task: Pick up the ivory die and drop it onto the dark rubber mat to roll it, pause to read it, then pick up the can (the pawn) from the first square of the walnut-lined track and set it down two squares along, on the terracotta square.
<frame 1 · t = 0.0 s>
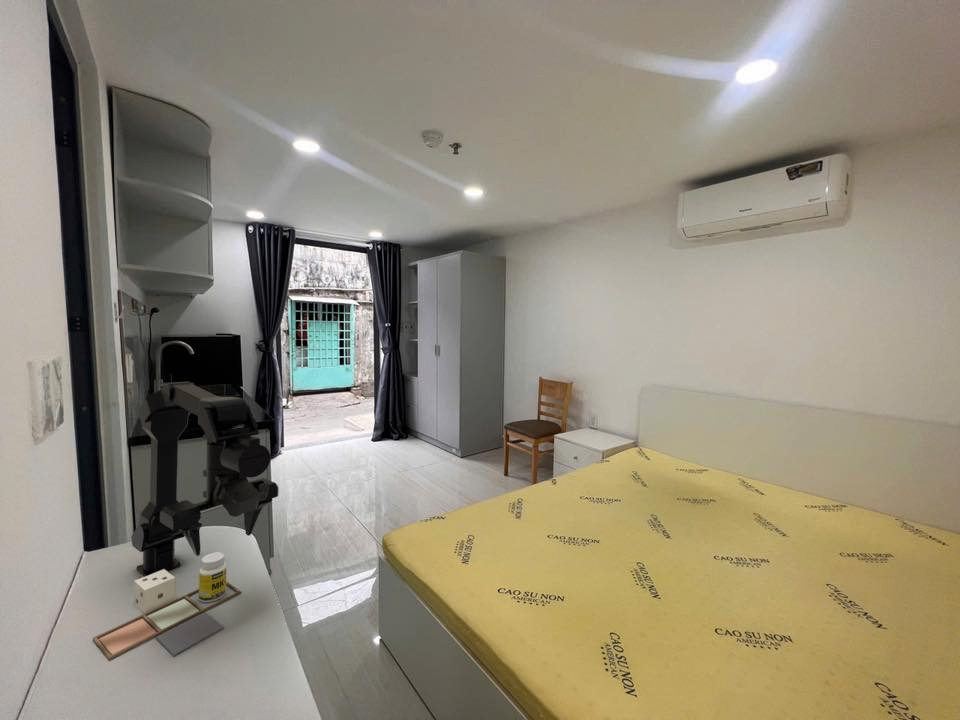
hand: (224, 544, 77), 15 cm above the table, fingers open, 9 cm apart
die: (154, 602, 81), on the table
track: (173, 614, 78), on the table
mat: (190, 633, 74), on the table
supplement bottle: (212, 596, 84), resting in track
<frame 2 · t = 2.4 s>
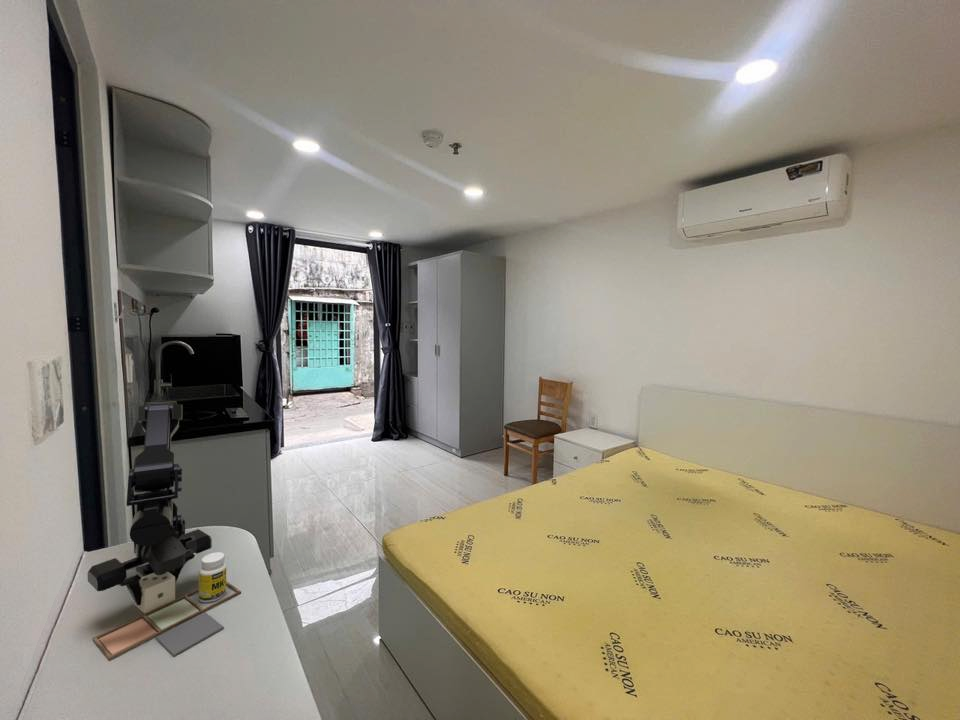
hand: (154, 597, 81), 1 cm above the table, fingers closed on die, 5 cm apart
die: (154, 602, 81), on the table, touching gripper
everything else where it was.
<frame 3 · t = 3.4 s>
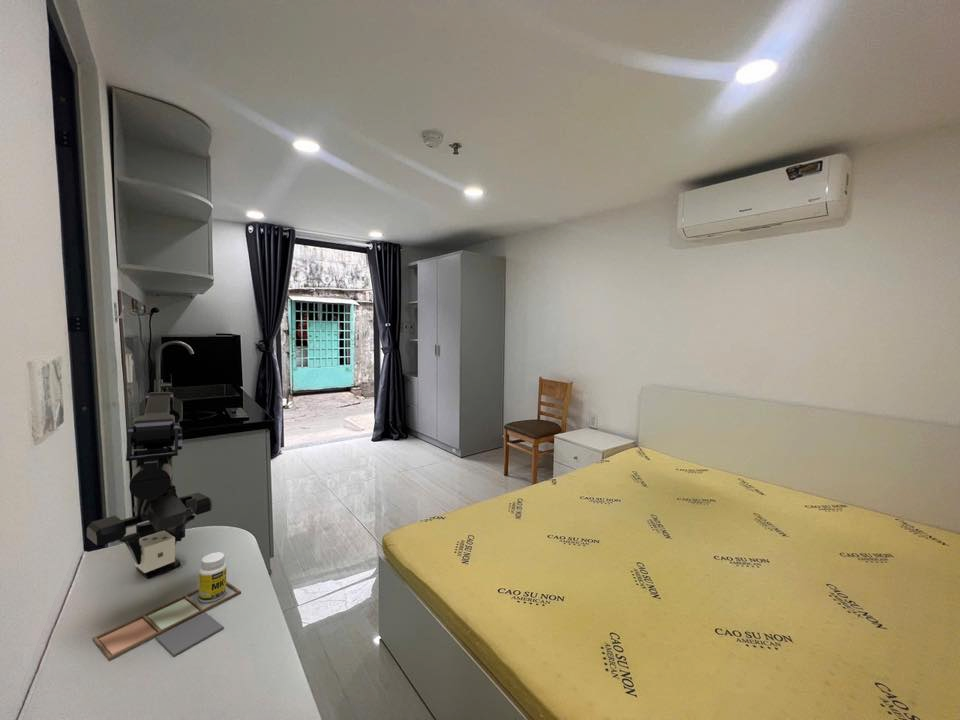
hand: (154, 557, 81), 9 cm above the table, fingers closed on die, 5 cm apart
die: (154, 562, 81), point 8 cm above the table, touching gripper
everything else where it was.
when the fingers open (8 cm above the table, at t = 4.6 s): die drops 7 cm, resting on mat.
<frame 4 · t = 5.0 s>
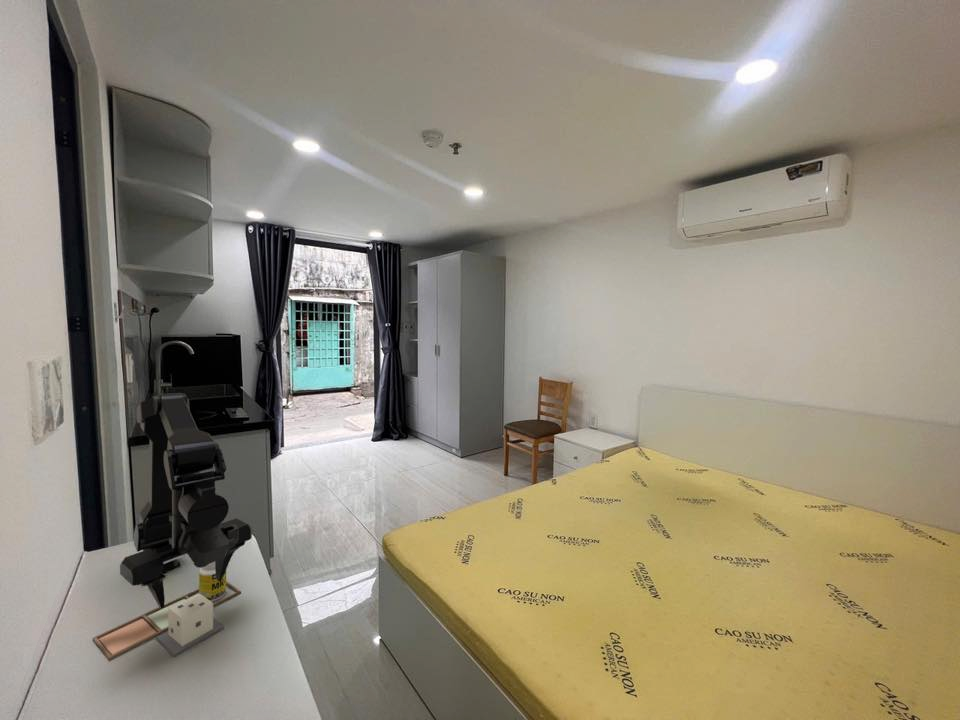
hand: (191, 593, 73), 8 cm above the table, fingers open, 9 cm apart
die: (191, 631, 74), resting on mat
everything else where it was.
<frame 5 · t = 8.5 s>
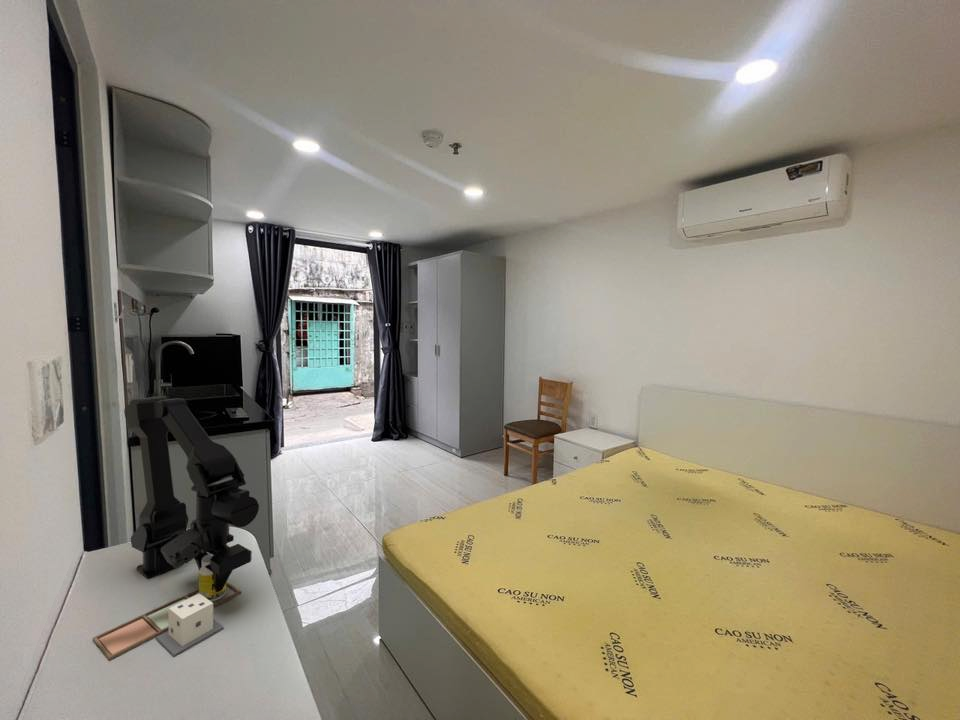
hand: (212, 586, 84), 2 cm above the table, fingers closed on supplement bottle, 5 cm apart
supplement bottle: (212, 596, 84), resting in track, touching gripper
everything else where it was.
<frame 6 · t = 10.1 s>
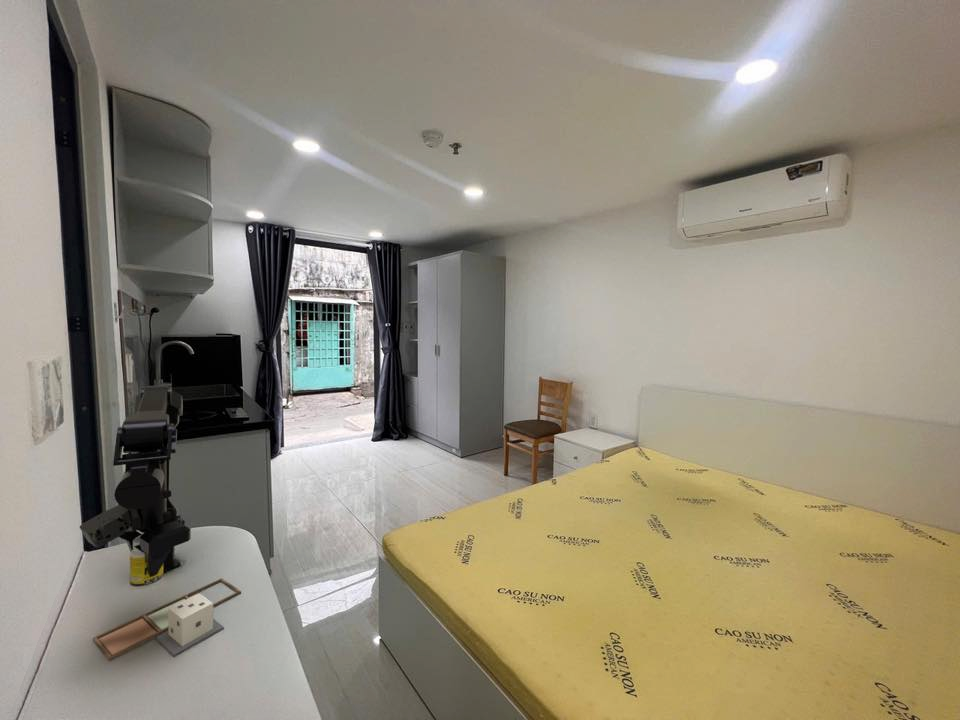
hand: (146, 571, 74), 11 cm above the table, fingers closed on supplement bottle, 5 cm apart
supplement bottle: (147, 582, 74), point 9 cm above the table, touching gripper
everything else where it was.
when the fingers open (3 cm above the table, at t = 12.0 s): supplement bottle drops 1 cm, resting on track.
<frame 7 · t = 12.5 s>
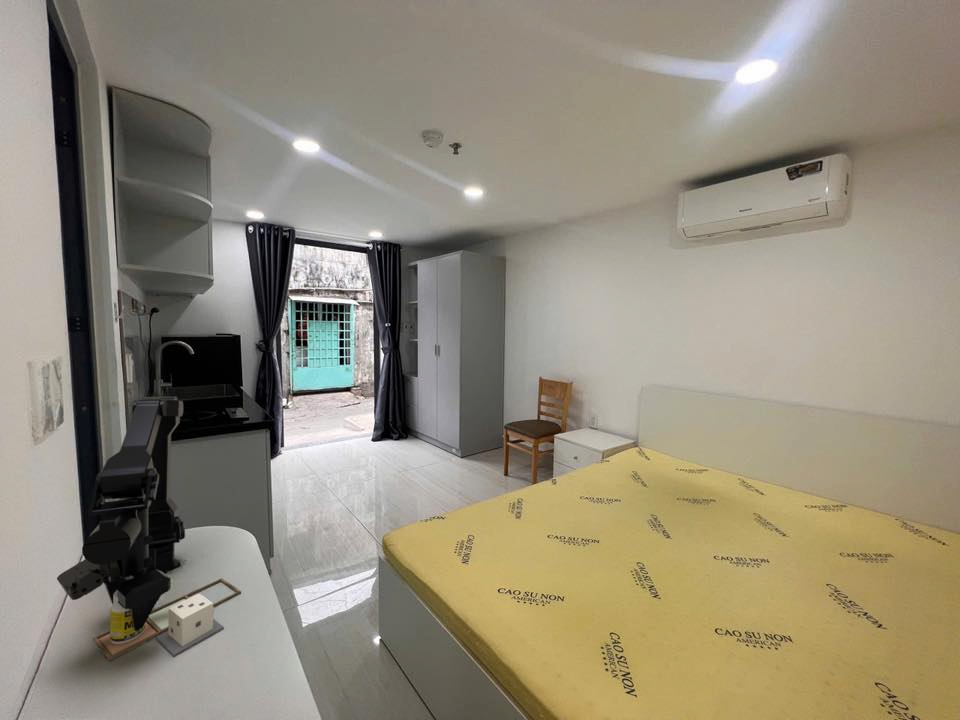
hand: (127, 618, 72), 3 cm above the table, fingers open, 9 cm apart
supplement bottle: (128, 636, 72), resting on track
everything else where it was.
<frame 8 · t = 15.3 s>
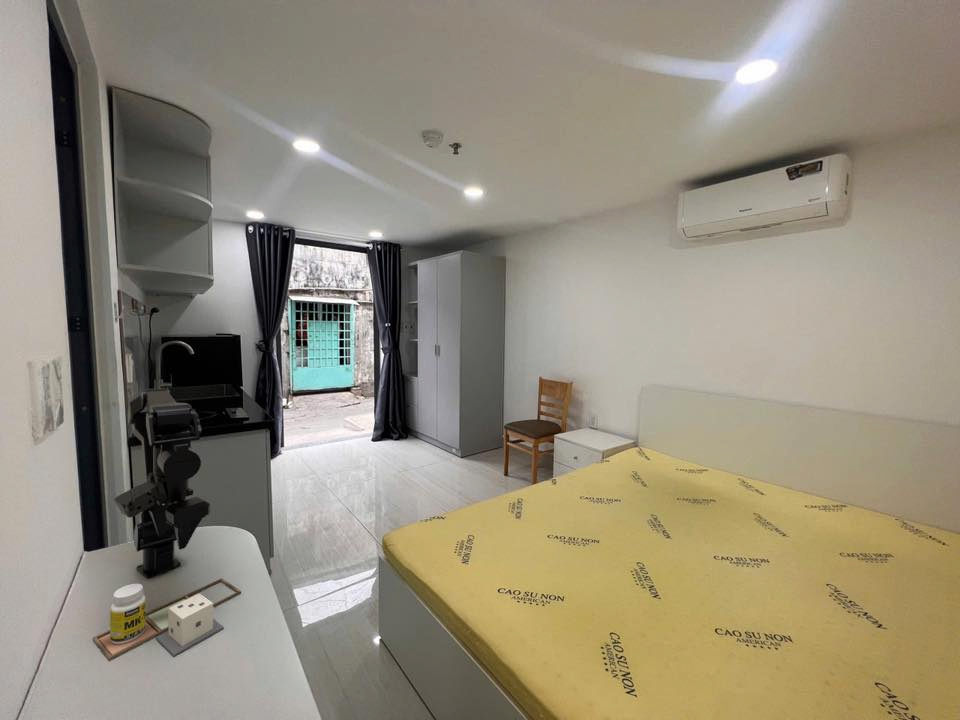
hand: (171, 541, 82), 12 cm above the table, fingers open, 9 cm apart
nothing on the table moved.
at the end: supplement bottle 0.1 cm from the target spot, resting on track; supplement bottle tilted 0°; the gripper is holding nothing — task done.
